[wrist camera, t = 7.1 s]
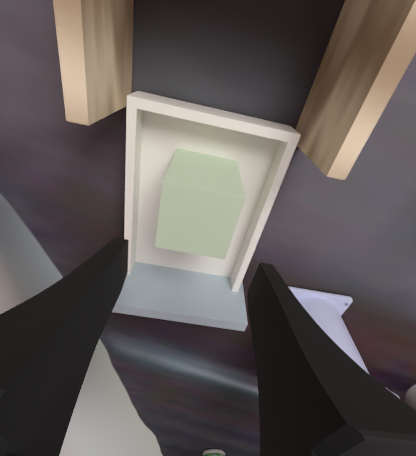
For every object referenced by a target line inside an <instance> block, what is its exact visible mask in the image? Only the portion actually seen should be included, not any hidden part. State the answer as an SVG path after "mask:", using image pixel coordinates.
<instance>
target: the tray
mask: <svg viewBox="0 0 416 456" xmlns="http://www.w3.org/2000/svg"><path fill="white" fill-rule="evenodd" d="M300 136H301V134H299V133H298V132H297V131H296V130H295V129H294V128H292V127H291V126H289V125H285V124H280V123H276V122H272V121H267V120H263V119H259V118H254V117H250V116H246V115H241V114H237V113H233V112H228V111H224V110H219V109H215V108H211V107H206V106H202V105H198V104H193V103H189V102H185V101H180V100H176V99H172V98H167V97H163V96H159V95H154V94H150V93H146V92H141V91H136V92H134V93H131V94H129V95H127V110H126V168H125V225H124V239H127V240H129V241H128V273H127V276H126V279H125V282H124V285H123V288H122V291H121V293H120V295H119V298H118V300H117V302H116V304H115V306H114V308H113V310H112V312H116V313H122V314H129V315H136V316H143V317H150V318H157V319H164V320H171V321H177V322H184V323H191V324H198V325H205V326H212V327H219V328H226V329H232V330H239V331H245V329H246V327H247V325H248V323H247V315H246V307H245V299H244V291H243V283H242V280H243V278H244V275H245V273H246V270H247V268H248V265H249V263H250V260H251V258H252V255H253V253H254V250H255V248H256V245H257V243H258V240H259V238H260V236H261V233H262V231H263V228H264V226H265V223H266V221H267V218H268V216H269V213H270V211H271V208H272V206H273V203H274V201H275V198H276V196H277V193H278V191H279V188H280V186H281V183H282V181H283V178H284V176H285V173H286V171H287V168H288V166H289V163H290V161H291V158H292V156H293V153H294V151H295V148H296V146H297V144H298V141H299V139H300ZM177 148H180V149H184V150H189V151H194V152H198V153H203V154H207V155H212V156H216V157H221V158H226V159H230V160H235V161H237V162H238V167H239V171H240V176H241V180H242V185H243V189H244V194H245V201H244V204H243V207H242V210H241V213H240V216H239V219H238V222H237V225H236V228H235V231H234V234H233V237H232V240H231V243H230V246H229V249H228V252H227V255H226V258H225V259H219V258H213V257H208V256H202V255H196V254H191V253H185V252H180V251H174V250H168V249H163V248H157V247H155V242H156V234H157V225H158V216H159V208H160V199H161V191H162V182H163V179H164V177H165V175H166V172H167V170H168V168H169V165H170V163H171V161H172V159H173V156H174V154H175V152H176V149H177Z"/></svg>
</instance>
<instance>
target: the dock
mask: <svg viewBox="0 0 416 456" xmlns="http://www.w3.org/2000/svg"><path fill="white" fill-rule="evenodd" d="M53 5H54V14H55V23H56V32H57V41H58V50H59V59H60V68H61V77H62V86H63V95H64V104H65V113H66V121H69V122H74V123H79V124H84V125H88V126H89V125H91V124H93V123H95V122H97V121H99V120H101V119H103V118H104V117H106V116H108V115H110V114H112V113H114V112H116V111H118V110H120V109H122V108H124V107H126V106H127V95H129V94H131V91H132V53H133V16H134V0H53ZM415 52H416V0H345V2H344V4H343V7H342V9H341V12H340V15H339V17H338V20H337V22H336V25H335V28H334V30H333V33H332V35H331V38H330V41H329V43H328V46H327V48H326V51H325V54H324V56H323V59H322V61H321V64H320V67H319V69H318V72H317V74H316V77H315V80H314V82H313V85H312V87H311V90H310V93H309V95H308V98H307V100H306V103H305V106H304V108H303V111H302V113H301V116H300V119H299V121H298V124H297V126H296V129H295V130H296V131H297V132H298V133H299V134H301V136H300V139H299V141H298V144H297V146H298V147H299V148H300V149H301V150H302V152H303V153H304V154H305V155H306V156H307V157H308V158H309V159H310V160H311V161H312V162H313V163H314V164H315V165H316V166H317V167H318V168H319V169H320V170H321V171H322V172H323V173H324V174H325V175H326V176H328V177H332V178H337V179H342V180H345V179H346V177H347V175H348V173H349V172H350V170H351V168H352V166H353V164H354V163H355V161H356V159H357V157H358V155H359V154H360V152H361V150H362V148H363V146H364V145H365V143H366V141H367V139H368V137H369V136H370V134H371V132H372V130H373V128H374V127H375V125H376V123H377V121H378V119H379V117H380V116H381V114H382V112H383V110H384V108H385V107H386V105H387V103H388V101H389V99H390V98H391V96H392V94H393V92H394V90H395V89H396V87H397V85H398V83H399V81H400V80H401V78H402V76H403V74H404V72H405V71H406V69H407V67H408V65H409V63H410V62H411V60H412V58H413V56H414V54H415Z"/></svg>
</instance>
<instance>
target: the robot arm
mask: <svg viewBox="0 0 416 456" xmlns="http://www.w3.org/2000/svg"><path fill="white" fill-rule="evenodd" d="M128 241H129V240H127V239H121V238H113V239H112V240H111V241H110V242H108V243H107V244H106V245H105V246H104V247H103V248H101V249H100V250H99V251H98V252H97V253H95V254H94V255H93V256H92V257H91V258H89V259H88V260H87V261H85V262H84V263H83V264H82V265H80V266H79V267H78V268H76V269H75V270H74V271H72V272H71V273H69V274H68V275H67V276H65V277H64V278H62V279H61V280H60V281H58V282H56V283H55V284H53V285H52V286H50V287H49V288H47V289H45V290H44V291H42V292H41V293H39V294H37V295H36V296H34V297H32V298H30V299H28V300H27V301H25V302H23V303H21V304H20V305H17V306H16V307H14V308H12V309H10V310H8V311H6V312H4V313H2V314H0V456H59V454H60V450H61V447H62V444H63V441H64V437H65V435H66V432H67V428H68V425H69V422H70V419H71V416H72V413H73V410H74V407H75V404H76V401H77V398H78V395H79V392H80V389H81V386H82V384H83V381H84V378H85V375H86V372H87V369H88V366H89V364H90V361H91V358H92V355H93V353H94V350H95V347H96V345H97V343H98V340H99V338H100V336H101V333H102V331H103V329H104V327H105V325H106V323H107V321H108V319H109V317H110V315H111V312H112V310H113V308H114V306H115V304H116V302H117V300H118V298H119V295H120V293H121V291H122V288H123V285H124V282H125V279H126V276H127V273H128ZM352 301H353V300H352V298H351V297H349V296H343V295H337V294H331V293H325V292H319V291H313V290H307V289H301V288H295V287H288V286H287V284H286V283H285V282H284V280H283V279H282V277H281V276H280V275H279V273H278V272H277V270H276V269H275V268H274V266H273V265H271V264H265V263H260V264H259V267H258V269H257V271H256V273H255V276H254V278H253V280H252V283H251V285H250V287H249V290H248V313H249V320H250V326H251V332H252V338H253V345H254V351H255V357H256V364H257V376H258V391H259V413H260V456H416V411H415V410H414V409H412V408H411V407H410V406H408V405H407V404H406V403H405V402H403V401H402V400H401V399H400V398H399V396H398V395H397V394H395V393H393V392H392V391H389V390H388V389H387V388H385V387H384V386H383V385H381V384H380V383H379V382H378V381H377V380H375V379H374V378H373V377H372V376H371V375H369V372H368V370H367V368H366V366H365V364H364V362H363V360H362V358H361V356H360V354H359V352H358V350H357V348H356V346H355V344H354V342H353V340H352V338H351V336H350V334H349V332H348V330H347V328H346V326H345V324H344V322H343V320H342V318H341V315H342V314H343V313H344V312H345V310H346V309H347V308H348V307H349V305H350V304H351V303H352Z"/></svg>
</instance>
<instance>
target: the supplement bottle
mask: <svg viewBox="0 0 416 456" xmlns="http://www.w3.org/2000/svg"><path fill="white" fill-rule="evenodd" d="M203 456H225V453H224V451H222V450H219V449H208V450H205V451H204V452H203Z"/></svg>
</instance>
